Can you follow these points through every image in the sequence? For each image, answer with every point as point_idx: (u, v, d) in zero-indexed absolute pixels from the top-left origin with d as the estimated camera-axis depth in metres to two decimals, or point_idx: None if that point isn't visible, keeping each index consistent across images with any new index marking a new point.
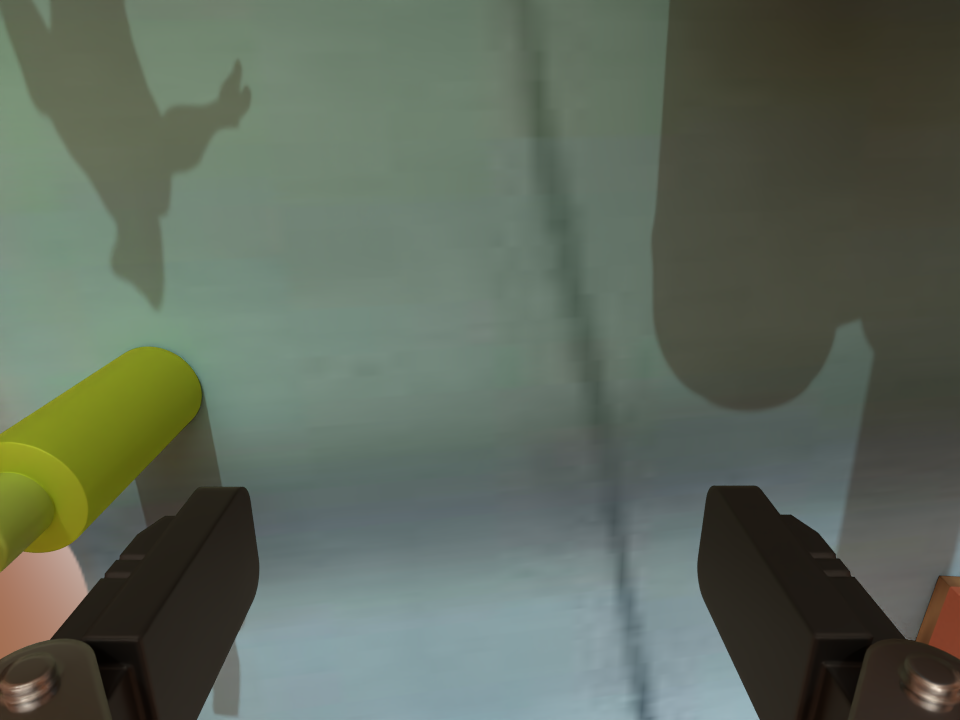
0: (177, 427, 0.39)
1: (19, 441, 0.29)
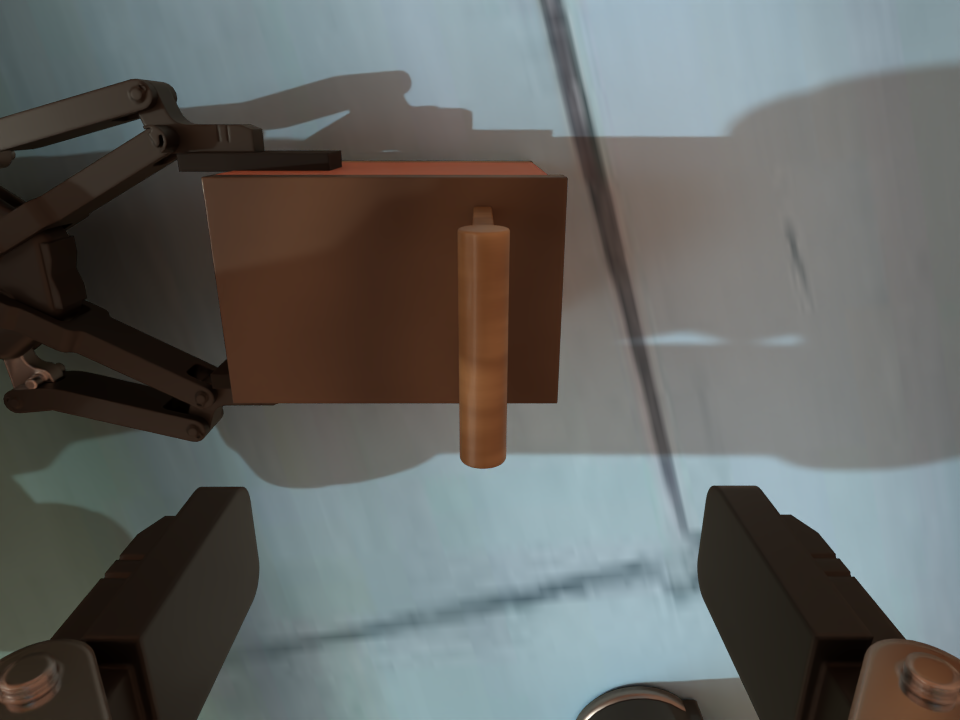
0: None
1: None
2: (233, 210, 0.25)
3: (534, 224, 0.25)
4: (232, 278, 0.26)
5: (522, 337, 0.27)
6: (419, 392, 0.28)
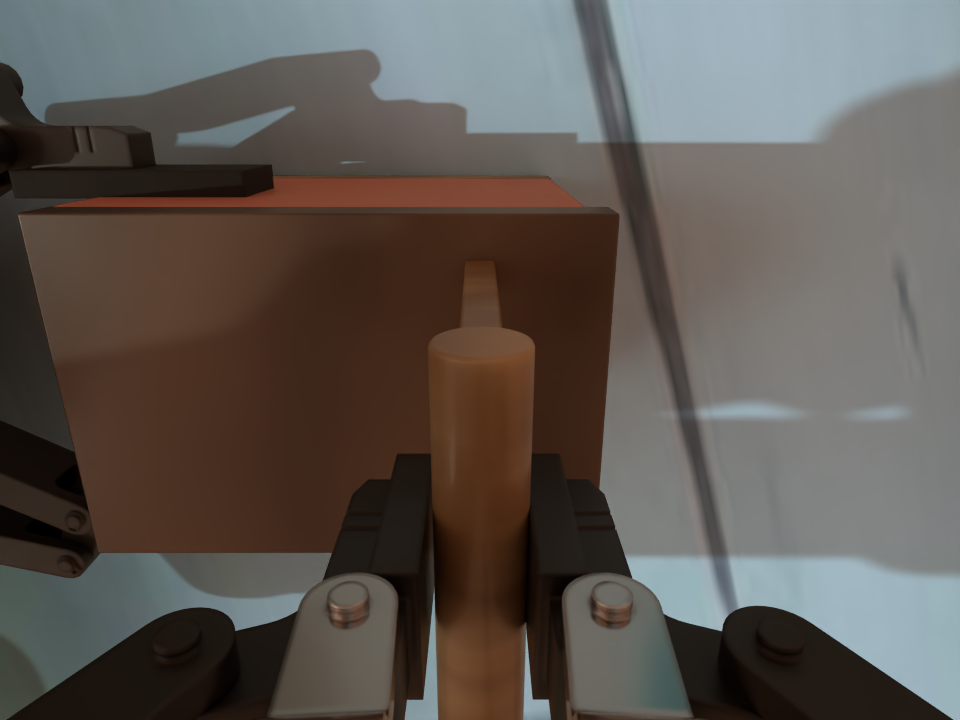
0: None
1: None
2: (75, 265, 0.16)
3: (564, 288, 0.16)
4: (81, 371, 0.16)
5: None
6: None
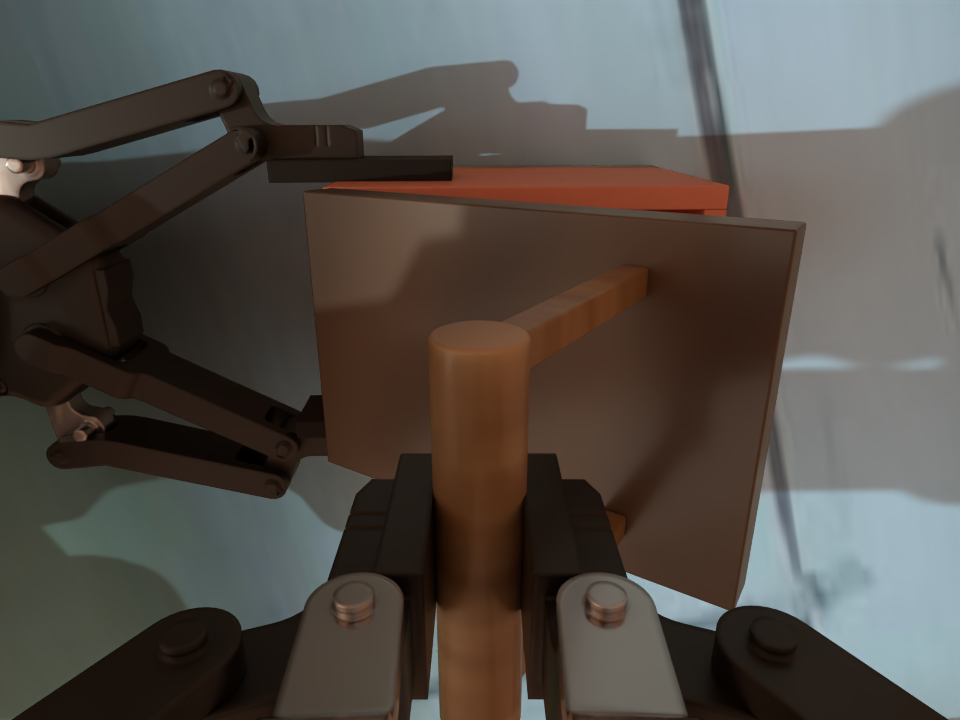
0: None
1: None
2: (331, 234, 0.20)
3: (723, 308, 0.14)
4: (329, 317, 0.21)
5: (682, 489, 0.16)
6: None
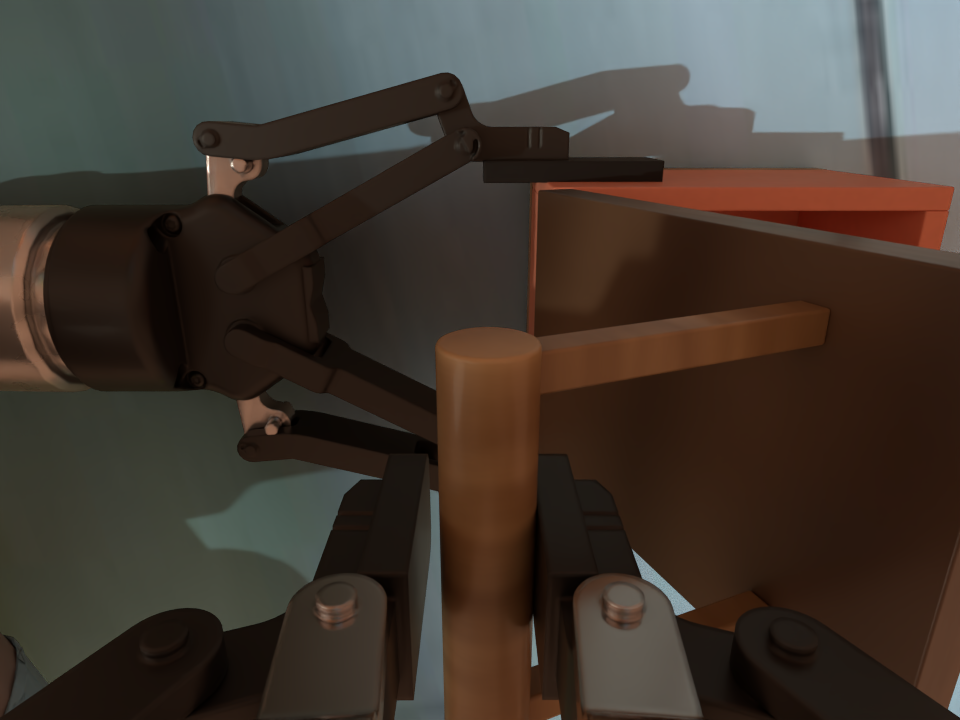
0: None
1: None
2: (553, 234, 0.20)
3: (917, 376, 0.10)
4: (544, 314, 0.22)
5: (841, 600, 0.12)
6: (675, 572, 0.17)
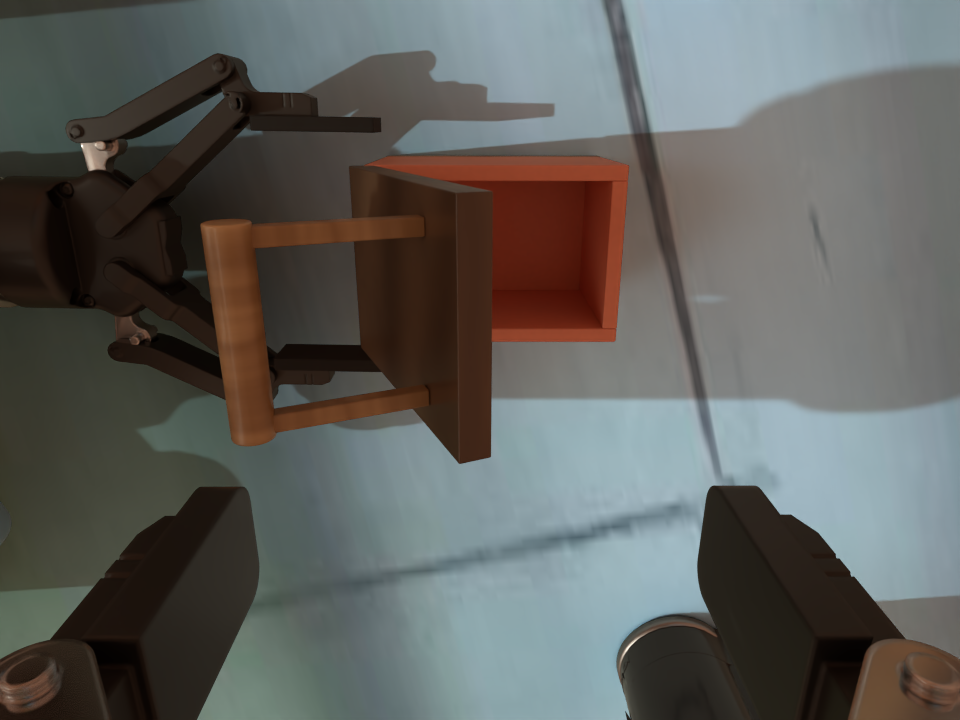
0: None
1: None
2: (356, 194, 0.31)
3: (442, 244, 0.22)
4: (357, 248, 0.33)
5: (441, 371, 0.24)
6: None
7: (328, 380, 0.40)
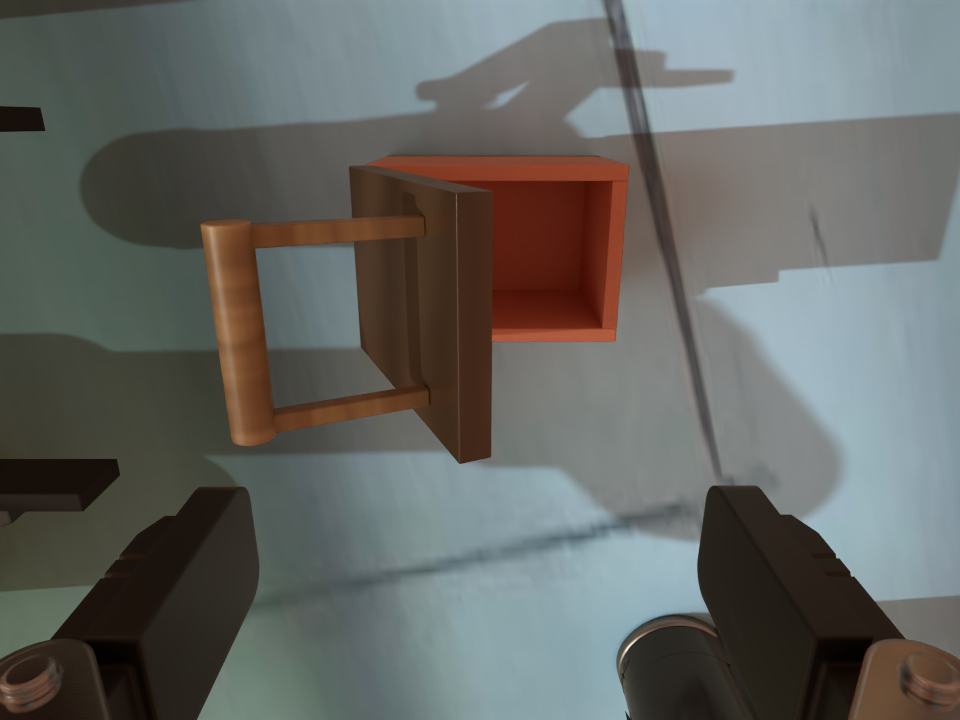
0: None
1: None
2: (355, 194, 0.31)
3: (443, 244, 0.22)
4: (357, 248, 0.33)
5: (441, 371, 0.24)
6: None
7: (8, 521, 0.26)
